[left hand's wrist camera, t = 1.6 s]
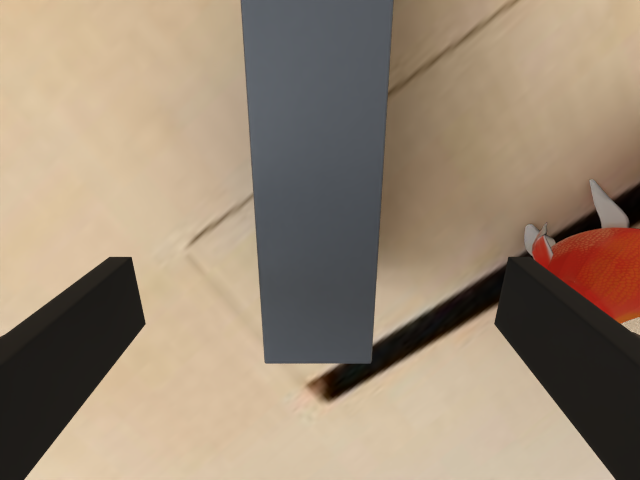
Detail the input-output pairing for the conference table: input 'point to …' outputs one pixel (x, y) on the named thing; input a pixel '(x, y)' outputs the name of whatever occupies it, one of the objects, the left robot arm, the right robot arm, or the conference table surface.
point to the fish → (596, 259)
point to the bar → (317, 170)
